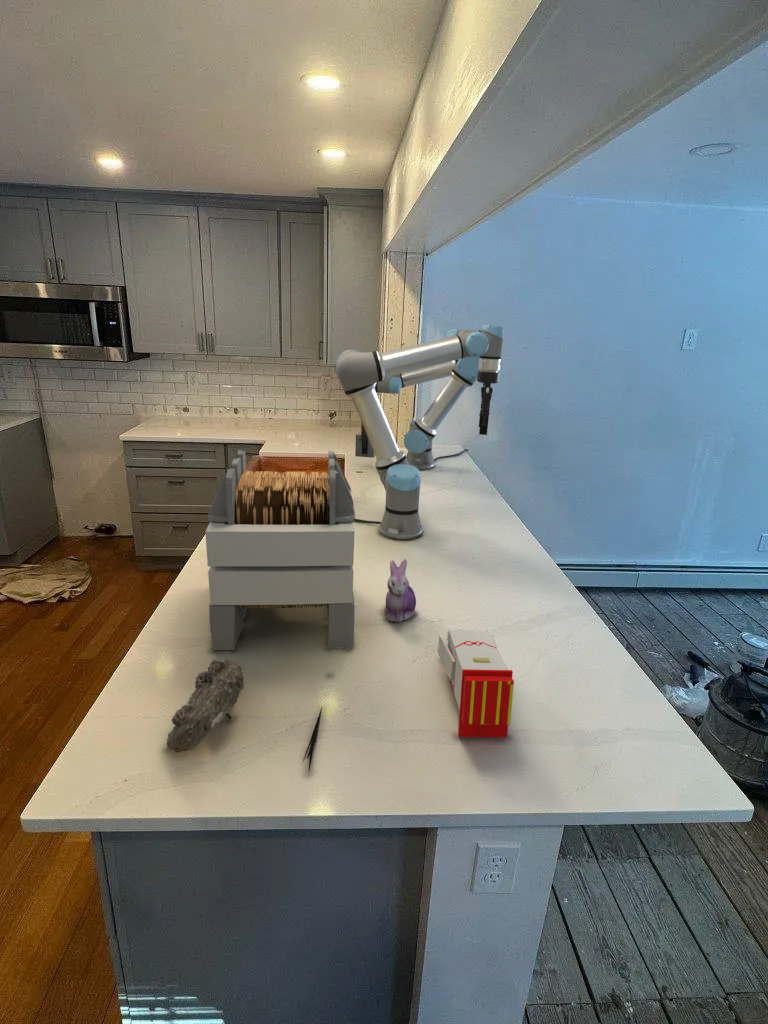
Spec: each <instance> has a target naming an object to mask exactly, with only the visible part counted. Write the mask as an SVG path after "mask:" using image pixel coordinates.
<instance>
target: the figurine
mask: <svg viewBox="0 0 768 1024" xmlns="http://www.w3.org/2000/svg"><path fill="white" fill-rule="evenodd" d="M407 567H408V559H406V558H404V559H403V560H402V561H401V563H400V565H399V566H398V565H397V563H396V562H395V561H394V560H393V559H391V560H390V561H389V570H390V576H389V578H388V579H387V589H388V591H387V592H386V594H385V595H386V596H385V607H384V615H385V616H386V620H387V621H391V622H395V623H400V622H402V621H406V620H409V619H410V618H411V617H413V616H414V615H415V610H416V606H417V597H416V593H415V591H414V590H413V587H411V586H410V582H409V579H408V577H407V574H406V571H407Z"/></svg>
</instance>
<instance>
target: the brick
mask: <svg viewBox="0 0 768 1024" xmlns="http://www.w3.org/2000/svg"><path fill="white" fill-rule="evenodd" d="M360 439H361V432H357V433H356V434H355V451H354V452H355V454H354V455H355V456H354V457H359V458H372V459H374V458H376V455H375V453H374V451H373V448H372V446H371V443H370V441H369V438H368V436H367V441H368V451H367V454H362V441H360Z"/></svg>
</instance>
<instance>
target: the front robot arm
mask: <svg viewBox="0 0 768 1024" xmlns="http://www.w3.org/2000/svg"><path fill="white" fill-rule="evenodd" d="M504 334H505V329H504V326H503V325H499V324H483V325H482V327H481V329H479V330H475V329H459V328H457V329H456V328H455V329H449V330H448V331H447V333H446V337H443V338H440V339H435V340H431V341H427V342H423V343H419V344H415V345H410V346H406V347H401V348H396V349H393V350H389V351H383V352H379V351H377V350H374V351H369V352H363V351H362V350H360V349H358V348H357V349H356V348H349V349H345V350H343V351H342V352H340V353H339V354H338V356H337V357H336V359H335V362H334V371H335V374H336V377H337V378H338V380H339V382H340V385H341V387H342V390H343V392H344V395H345V396H347V397H349V398H351V400H352V402H353V404H354V407H355V410H356V412H357V414H358V416H359V417H358V418H359V419H360V423H361V422H362V424H363V426H364V429H365V431H366V434H367V436H368V438H369V441H370V443H371V446H372V448H373V451H374V453H375V455H376V456H375V458H376V459H375V462H374V467H375V469H376V471H377V473H378V476H379V480H380V482H381V484H382V486H383V488H384V490H385V504H384V505H385V507H384V508H385V509H384V513H383V515H382V519H381V521H379V520H378V521H377V520H365V519H359V518H355V520H354V521H353V522H358V523H363V524H374V525H378V533H379V534H380V535H381V536H382V537H385V538H387V539H389V540H395V541H410V540H415V539H418V538H420V537H421V536H422V535H423V525H422V524H421V518H420V515H419V507H420V506H419V505H420V491H421V483H422V477H421V476H422V475H421V471H420V470H418V469H417V468H416V467H412V466H411V465H409V463H408V460H407V458H406V456H407V454H406V453H405V452H404V451H403V450H400V449H399V447H398V445H397V441H396V439H395V436H394V434H393V431H392V429H391V427H390V424H389V422H388V418H387V416H386V413H385V411H384V409H383V406H382V404H381V402H380V398H379V396H378V394H377V392H376V391H375V385H376V383H377V382H380V381H384V379H385V377H388V376H392V375H396V374H400V373H404V372H408V371H412V370H416V369H421V368H425V367H429V366H433V365H437V364H441V363H445V362H450V361H454V360H458V359H463V358H467V357H479V364H478V369H479V370H480V371H478V376H477V380H476V381H477V382H478V383H482V386H481V387H480V397H481V398H480V399H481V402H480V411H479V415H478V416H479V420H478V428H479V430H478V435H480V436H487V435H488V427H489V418H490V409H491V408H490V407H491V400H492V397H493V396H492V394H493V392H494V391H493V390H494V389H493V387H492V384H498V383H499V381H500V372H499V371H500V370H501V365H503V362H502V361H501V359H502V352H503V346H504V345H503V344H504V339H505V338H504V336H505V335H504Z"/></svg>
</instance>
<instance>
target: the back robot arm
mask: <svg viewBox="0 0 768 1024" xmlns="http://www.w3.org/2000/svg"><path fill="white" fill-rule="evenodd" d="M478 364H479V357H467V358H463V359H458V360H454V361H450V362H445V363H441V364H437V365H433V366H429V367H425V368H421V369H416V370H412V371H408V372H404V373H400V374H396V375H392V376H388V377H385V379H384V381H380V382H377V383H376V385H375V391H376V394H377V393H379V394H389V395H390V394H391V395H398V394H400V393H401V391H402V389H405V388H407V387H408V388H409V387H412V386H416V385H420V384H424V383H428V382H432V381H436V380H441V379H445V378H449V379H448V380H447V382H446V383H445V384H444V386H443V387H442V389H441V390H440V392H439V393H438V394H437V396H436V397H435V399H434V400H433V401H432V403H431V404H430V405H429V407H428V409H427V410H426V412H425V413H424V414H423V415H422V417H421V418H417V419H415V420H414V419H412V420H410V421H409V430H408V431H407V432H406V433H405V434H404V437H403V445H404V447H405V449H406V450H407V454H406V458H407V460H408V463H409V465H411V466H412V467H416V468H417V469H418V470H419V471H420V470H422V471H424V470H426V471H427V470H431V469H434V468H435V461H437V460H438V459H444V458H445V459H446V458H452V457H456V456H460V455H461V454H463V453H465V452H469V450H468V449H467V448H465V449H463V450H462V451H460V452H458V453H454V454H449V455H442V456H438V457H435V458H434V455H433V440H434V438H435V437H436V436H437V429H438V427H440V425H441V423H442V422H443V421H444V419H445V418H446V416H447V415H448V414H449V412H450V411H451V410H452V408H453V407H454V406H455V405H456V403H457V402H458V400H459V399H460V398H461V396H462V395H463V393H464V391H466V390H467V388H471V387H473V386H474V384H475V383H476V381H477V376H478V371H480V370H479V369H478ZM360 424H361V427H360V428H361V429H360V433H361V439H360V441H362V454H367V451H368V441H367V434H366V431H365V429H364V426H363V424H362V422H361V421H360Z"/></svg>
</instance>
